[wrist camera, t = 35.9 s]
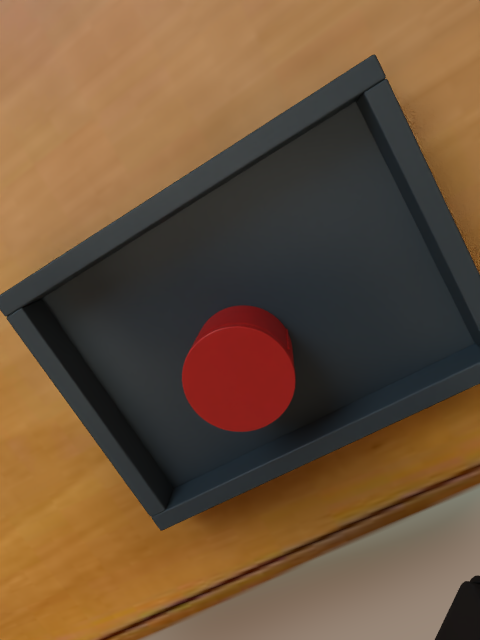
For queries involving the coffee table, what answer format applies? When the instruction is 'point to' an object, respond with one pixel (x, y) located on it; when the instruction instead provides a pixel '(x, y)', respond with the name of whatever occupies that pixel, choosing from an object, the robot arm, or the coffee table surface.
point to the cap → (240, 369)
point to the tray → (264, 298)
